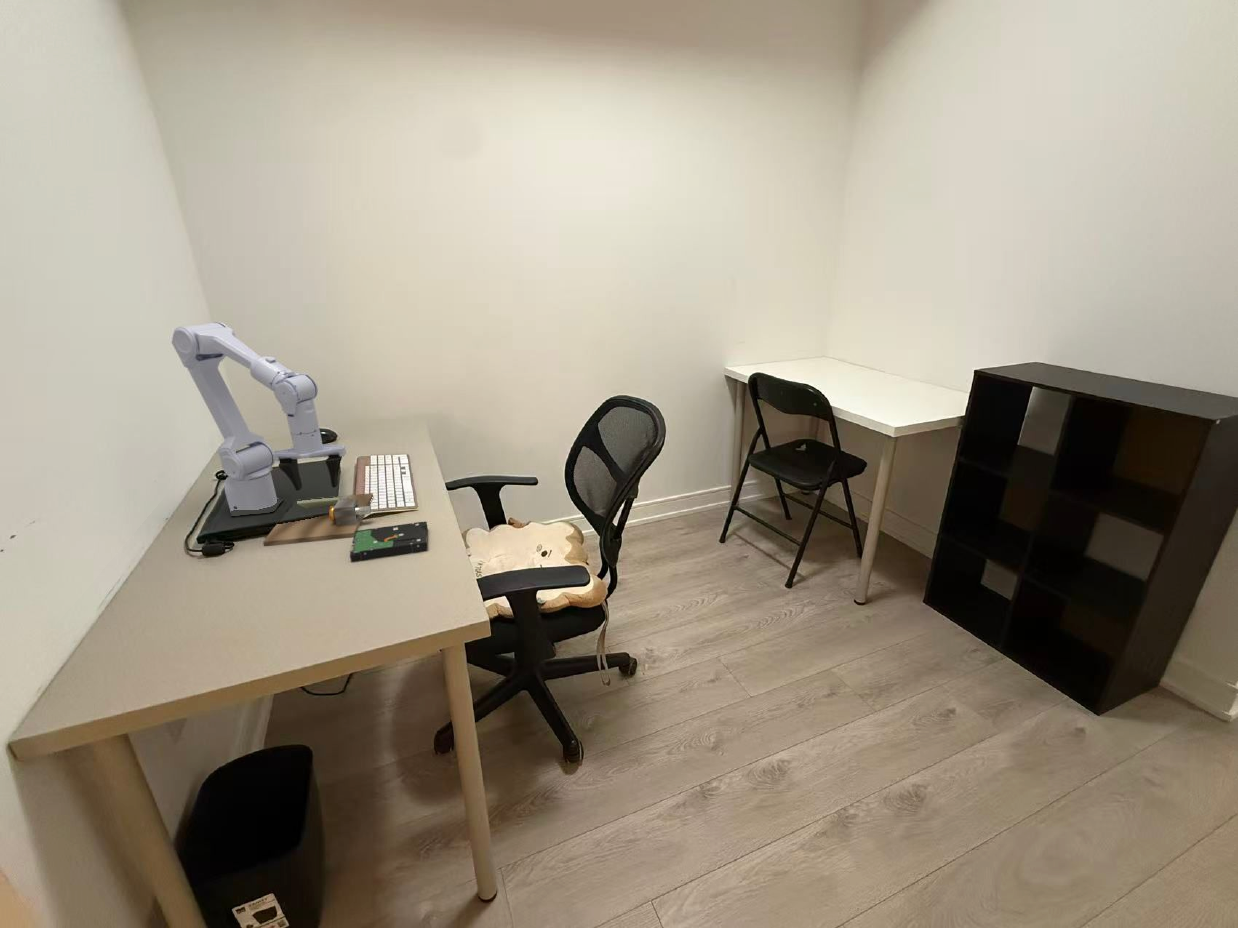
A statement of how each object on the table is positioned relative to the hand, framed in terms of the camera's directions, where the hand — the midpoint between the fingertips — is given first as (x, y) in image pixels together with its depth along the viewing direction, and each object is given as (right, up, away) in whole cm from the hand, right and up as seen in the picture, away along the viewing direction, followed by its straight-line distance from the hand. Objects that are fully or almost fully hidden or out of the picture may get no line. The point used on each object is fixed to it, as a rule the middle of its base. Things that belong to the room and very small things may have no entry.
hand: (317, 487), depth 130 cm
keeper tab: (0, -4, +3) cm, 5 cm away
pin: (+8, -7, -1) cm, 11 cm away
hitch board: (0, -8, +2) cm, 8 cm away
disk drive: (+21, -13, -9) cm, 26 cm away
